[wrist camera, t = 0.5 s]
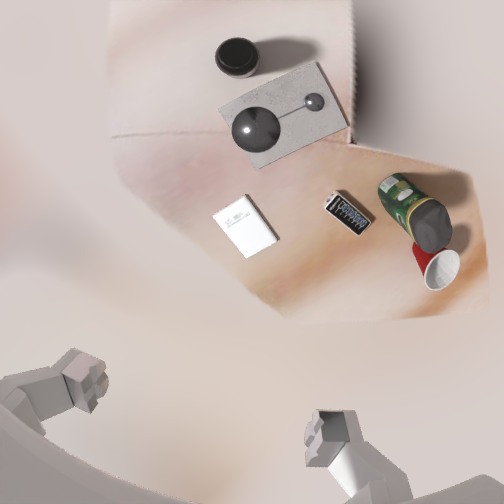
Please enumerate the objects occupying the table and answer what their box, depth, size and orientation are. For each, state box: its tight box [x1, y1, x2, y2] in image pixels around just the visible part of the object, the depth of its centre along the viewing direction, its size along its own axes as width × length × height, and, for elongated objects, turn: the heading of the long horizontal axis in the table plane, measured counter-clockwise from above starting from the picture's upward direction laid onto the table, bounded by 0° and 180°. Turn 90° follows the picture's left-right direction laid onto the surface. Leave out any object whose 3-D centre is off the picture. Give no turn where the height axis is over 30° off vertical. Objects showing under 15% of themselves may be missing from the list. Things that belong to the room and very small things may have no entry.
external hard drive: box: [213, 195, 277, 258], centre depth 58 cm, size 2×8×12 cm
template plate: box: [218, 62, 348, 170], centre depth 45 cm, size 14×20×2 cm
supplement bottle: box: [215, 37, 259, 79], centre depth 35 cm, size 7×7×12 cm
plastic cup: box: [412, 242, 460, 291], centre depth 55 cm, size 11×11×12 cm
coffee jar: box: [378, 174, 452, 253], centre depth 45 cm, size 10×8×19 cm
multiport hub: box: [323, 190, 371, 236], centre depth 55 cm, size 4×11×2 cm, turn 55°
